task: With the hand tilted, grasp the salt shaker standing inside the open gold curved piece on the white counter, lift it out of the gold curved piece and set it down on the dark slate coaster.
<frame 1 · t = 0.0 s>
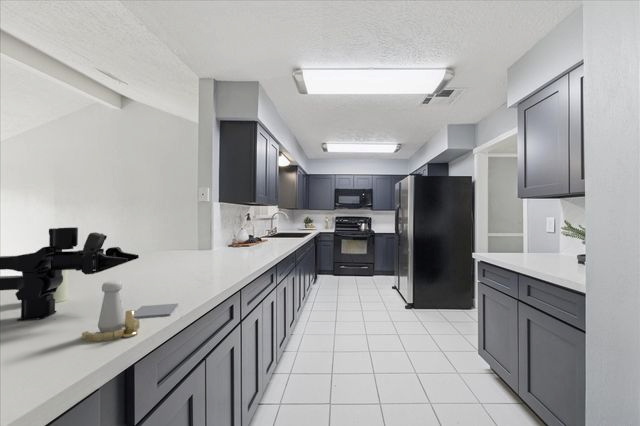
hand: (133, 258, 93), 17 cm above the countertop, tool horizontal, fingers open, 9 cm apart
salt shaker: (111, 332, 74), on the countertop
can: (51, 301, 103), on the countertop
coaster: (155, 311, 90), on the countertop
gold curved piece: (111, 331, 74), on the countertop
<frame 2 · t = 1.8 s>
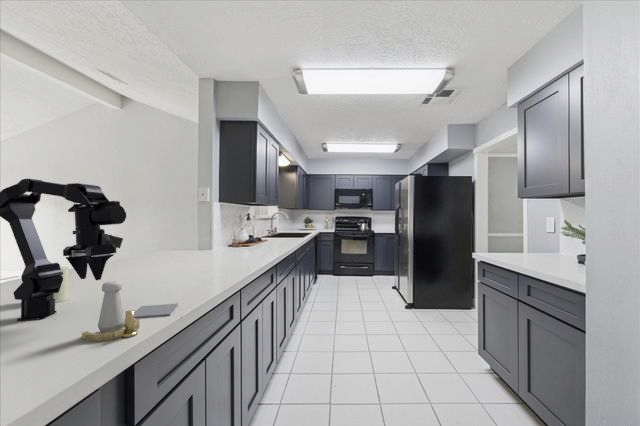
hand: (90, 279, 84), 12 cm above the countertop, tool pointing down, fingers open, 9 cm apart
nothing on the countertop moved.
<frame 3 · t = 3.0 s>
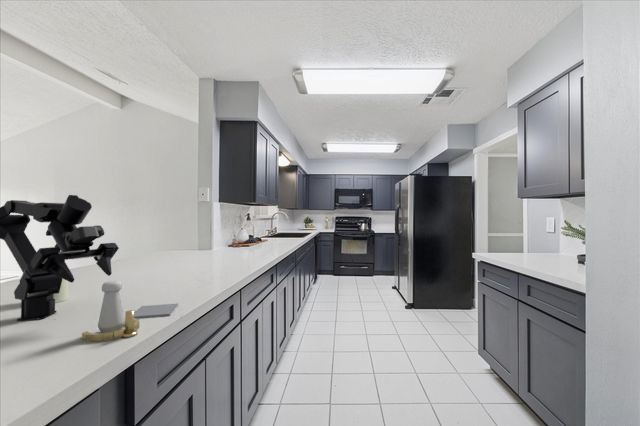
hand: (92, 277, 77), 13 cm above the countertop, tool tilted 45°, fingers open, 9 cm apart
nothing on the countertop moved.
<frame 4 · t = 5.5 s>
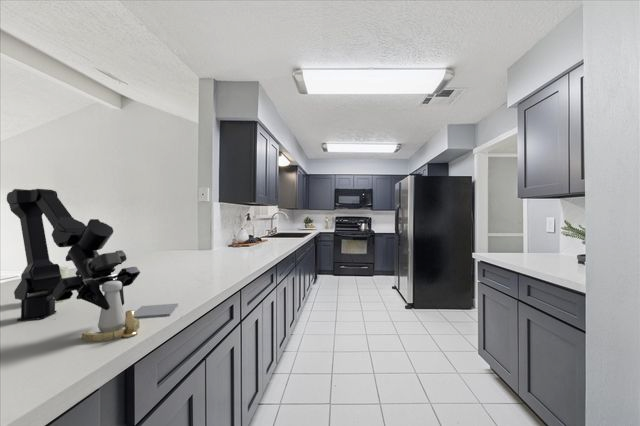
hand: (115, 306, 74), 7 cm above the countertop, tool tilted 45°, fingers closed on salt shaker, 3 cm apart
salt shaker: (111, 332, 74), on the countertop, touching gripper
everything else where it was.
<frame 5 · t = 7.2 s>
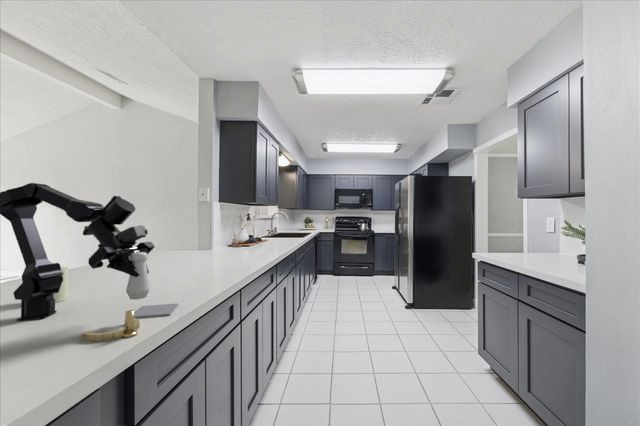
hand: (143, 274, 82), 13 cm above the countertop, tool tilted 45°, fingers closed on salt shaker, 3 cm apart
salt shaker: (138, 298, 82), point 6 cm above the countertop, touching gripper
everything else where it was.
when the fingers open (8 cm above the countertop, at t = 9.1 s): salt shaker stays where it is, resting on coaster.
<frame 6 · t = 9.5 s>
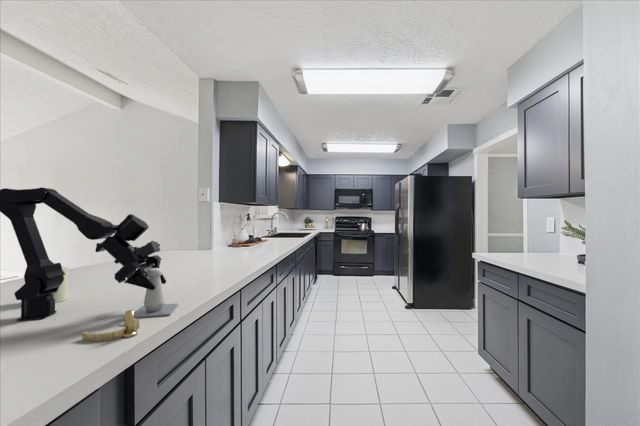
hand: (160, 285, 91), 8 cm above the countertop, tool tilted 45°, fingers open, 8 cm apart
salt shaker: (154, 310, 90), resting on coaster
everything else where it was.
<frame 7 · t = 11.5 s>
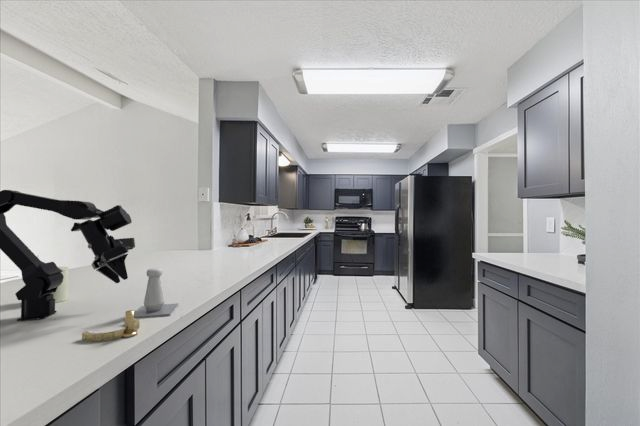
hand: (122, 281, 92), 9 cm above the countertop, tool tilted 25°, fingers open, 9 cm apart
nothing on the countertop moved.
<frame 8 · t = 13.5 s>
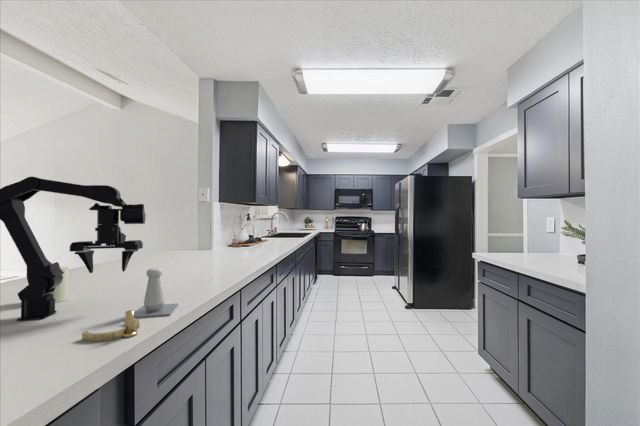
hand: (107, 272, 93), 12 cm above the countertop, tool pointing down, fingers open, 9 cm apart
nothing on the countertop moved.
at the end: salt shaker inside the target area on the coaster (0.2 cm from its centre), point 0.4 cm above the coaster's base; salt shaker tilted 0°; salt shaker touching coaster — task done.
